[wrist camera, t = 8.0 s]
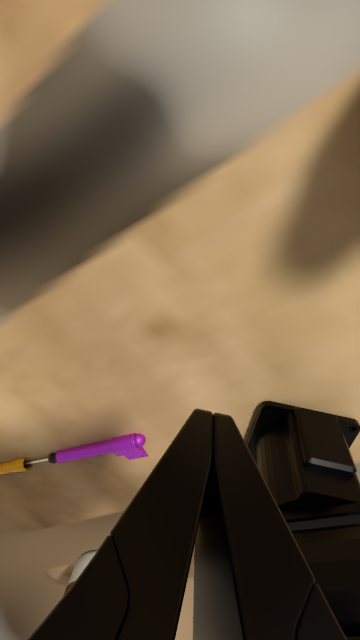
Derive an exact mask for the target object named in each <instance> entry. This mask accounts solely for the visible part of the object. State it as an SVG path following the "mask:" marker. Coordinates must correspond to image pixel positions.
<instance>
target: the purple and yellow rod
mask: <svg viewBox="0 0 360 640" xmlns="http://www.w3.org/2000/svg"><path fill="white" fill-rule="evenodd" d="M144 443H145V437H144V435H142V434H139V433H138V434H135V433H134V434H129V435H124V436H120V437H115V438H112V439H111V440H106V441H102V442H97V443H93V444H88V445H83V446H79V447H74V448H70V449H65V450H60V451H57V452H56V453H51V454H50V455H49V457H48V458H44V459H39V460H34V461H30V462H25V463H23V462H24V459H25V458H21V459H17V460H15V461H11V462H7V463H2V464H0V475H1V474H6V473H11V472H22V471H27V470H30V469H31V468H32V466H30V467H25V468H24V466H23V465H28V464H33V463H38V462H43V461H47V460H48V461H49V462H50V463H56V462H58V463H62V462H67V461H72V460H77V459H82V458H87V457H92V456H97V455H102V454H107V453H112V452H113V453H115V454H116V455H117V456H122V455H124V456H125V457H127V458H128V459H129V460H131V459H136V458H141V457H146V456H148V454H147V453H146V451H145V450H144V448H143V447H142V446H143V445H144ZM140 454H142V455H140ZM131 455H132V456H131Z"/></svg>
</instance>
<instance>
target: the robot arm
mask: <svg viewBox="0 0 360 640" xmlns="http://www.w3.org/2000/svg"><path fill="white" fill-rule="evenodd" d="M267 408H271V409H267ZM351 426H353V427H351ZM359 432H360V425H359V423H358V421H357V420H355V419H351V418H347V417H342V416H337V415H333V414H328V413H323V412H319V411H314V410H309V409H305V408H300V407H295V406H291V405H286V404H281V403H277V402H272V401H265V402H263V403H262V404H261V406H260V409H259V412H258V414H257V417H256V419H255V422H254V425H253V427H252V430H251V433H250V435H249V438H248V440H247V443H245V441H244V439H243V437H242V435H241V434H240V432H239V430H238V428H237V426H236V424H235V422H234V420H233V418H232V417H231V416H229V415H225V414H220V413H214V414H212V412H210V411H206V410H201V409H195V410H194V411H193V412H192V414H191V415H190V417H189V418H188V420H187V421H186V422H185V424H184V425H183V427H182V428H181V430H180V431H179V433H178V434H177V436H176V437H175V439H174V440H173V441H172V443H171V444H170V446H169V447H168V449H167V450H166V452H165V453H164V455H163V456H162V457H161V459H160V460H159V462H158V463H157V465H156V466H155V468H154V469H153V471H152V472H151V474H150V475H149V476H148V478H147V479H146V481H145V482H144V484H143V485H142V487H141V488H140V490H139V491H138V493H137V494H136V495H135V497H134V498H133V500H132V501H131V503H130V504H129V506H128V507H127V509H126V510H125V512H124V513H123V514H122V516H121V517H120V519H119V520H118V522H117V523H116V525H115V526H114V528H113V529H112V531H111V533H110V536H107V537H106V539H105V540H104V542H103V543H102V545H101V546H100V548H99V549H98V551H97V552H96V553H95V555H94V556H93V558H92V559H91V560H90V562H89V563H88V565H87V566H86V567H85V569H84V570H83V571H82V573H81V574H80V576H79V577H78V578H77V580H76V581H75V582H74V584H73V585H72V586H71V588H70V589H69V590H68V592H67V593H66V594H65V595H64V596H63V598H62V599H61V600H60V601H59V603H58V604H57V605H56V606H55V608H54V609H53V610H52V611H51V613H50V614H49V615H48V616H47V618H46V619H45V620H44V621H43V622H42V624H41V625H40V626H39V627H38V628H37V630H36V631H35V632H34V633H33V634H32V635H31V637H30V638H29V639H28V640H175V636H176V631H177V626H178V622H179V617H180V612H181V607H182V602H183V598H184V593H185V588H186V583H187V578H188V574H189V569H190V564H191V559H192V554H193V550H194V545H195V558H194V611H193V612H194V614H193V640H360V483H359V480H358V478H357V475H356V471H357V470H356V466H355V464H354V461H353V458H352V456H351V453H350V450H349V448H350V446H351V445H352V443H353V441H354V440H355V438H356V436H357V435H358V433H359Z"/></svg>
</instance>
